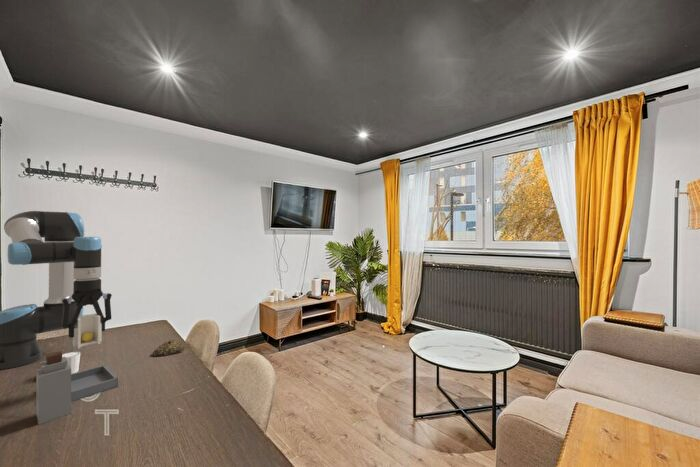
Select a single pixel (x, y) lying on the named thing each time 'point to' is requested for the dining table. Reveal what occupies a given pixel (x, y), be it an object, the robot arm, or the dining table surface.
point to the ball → (87, 336)
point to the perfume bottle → (53, 388)
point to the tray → (92, 382)
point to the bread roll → (169, 348)
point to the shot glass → (73, 360)
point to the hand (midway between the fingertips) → (87, 343)
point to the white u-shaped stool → (88, 329)
